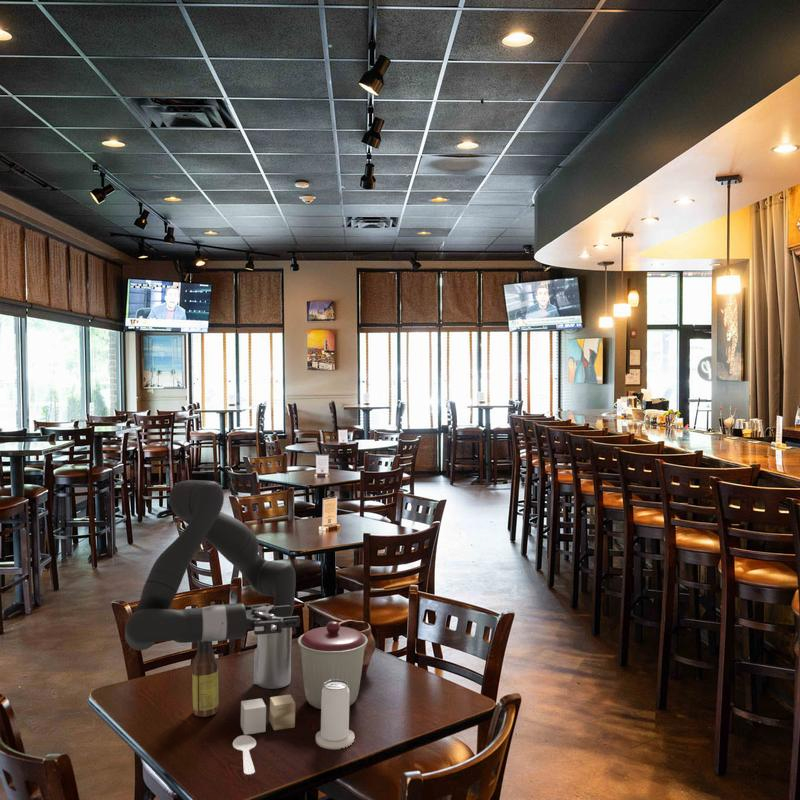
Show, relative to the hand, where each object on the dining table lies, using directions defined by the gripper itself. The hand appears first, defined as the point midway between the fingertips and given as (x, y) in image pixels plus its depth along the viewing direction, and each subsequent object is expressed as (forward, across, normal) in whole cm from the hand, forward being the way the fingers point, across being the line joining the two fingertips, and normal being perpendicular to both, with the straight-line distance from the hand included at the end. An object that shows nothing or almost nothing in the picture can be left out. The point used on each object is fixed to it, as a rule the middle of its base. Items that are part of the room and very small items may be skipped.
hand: (295, 615), depth 167 cm
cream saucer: (+10, 0, +30) cm, 32 cm away
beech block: (0, +12, +30) cm, 32 cm away
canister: (+15, +20, +30) cm, 39 cm away
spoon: (-10, 0, +31) cm, 32 cm away
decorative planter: (+26, +37, +30) cm, 54 cm away
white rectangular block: (-7, +12, +30) cm, 33 cm away
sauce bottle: (-16, +24, +30) cm, 42 cm away
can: (+10, 0, +29) cm, 31 cm away
